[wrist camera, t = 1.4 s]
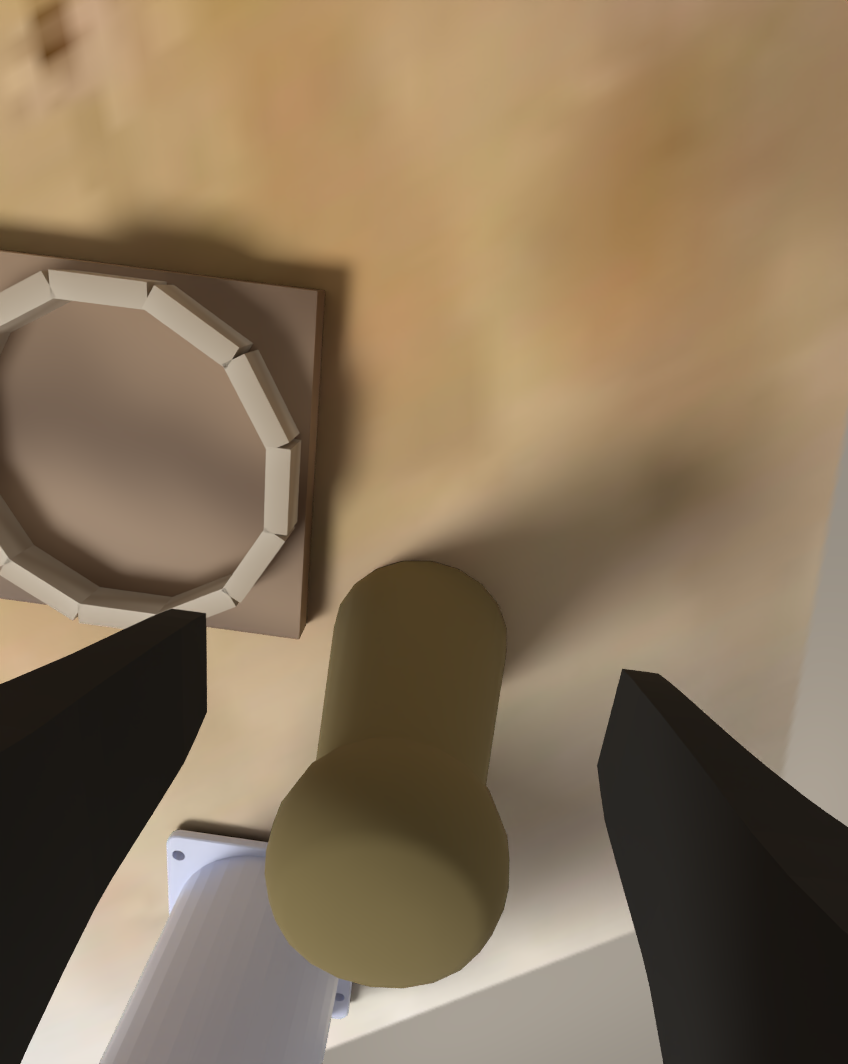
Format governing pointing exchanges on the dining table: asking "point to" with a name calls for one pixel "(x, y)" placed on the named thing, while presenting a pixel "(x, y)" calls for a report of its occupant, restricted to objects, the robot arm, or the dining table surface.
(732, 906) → the robot arm
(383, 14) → the dining table surface
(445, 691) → the cork
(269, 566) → the cup holder
